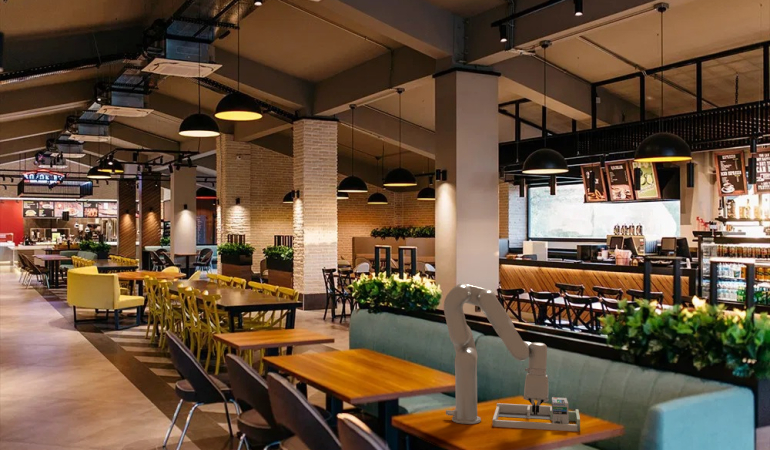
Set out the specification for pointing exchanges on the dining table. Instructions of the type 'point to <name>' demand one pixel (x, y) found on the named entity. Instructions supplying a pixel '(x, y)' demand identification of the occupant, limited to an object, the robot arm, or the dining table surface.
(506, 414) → the frame
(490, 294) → the robot arm
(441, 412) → the dining table surface
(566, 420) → the light bulb box
